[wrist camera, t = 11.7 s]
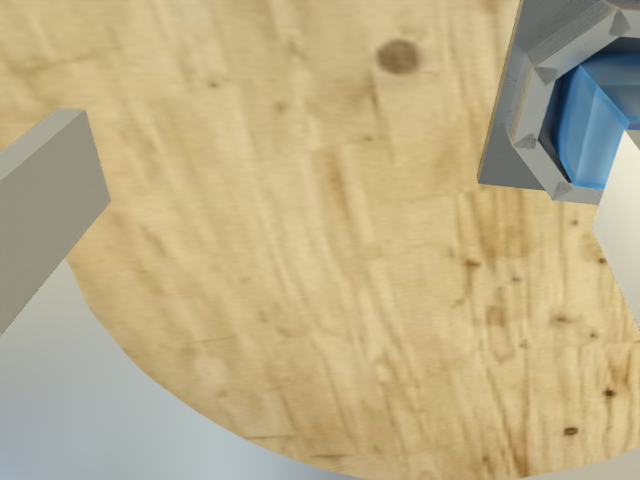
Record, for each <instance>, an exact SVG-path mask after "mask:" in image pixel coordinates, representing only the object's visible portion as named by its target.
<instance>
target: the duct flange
mask: <svg viewBox="0 0 640 480" xmlns="http://www.w3.org/2000/svg"><path fill="white" fill-rule="evenodd" d="M620 51H640V0H520V3H519V7H518V11H517V15H516V19H515V23H514V27H513V32H512V36H511V40H510V44H509V48H508V52H507V56H506V60H505V64H504V68H503V72H502V76H501V80H500V84H499V88H498V92H497V96H496V100H495V104H494V109H493V113H492V117H491V121H490V125H489V129H488V133H487V137H486V141H485V145H484V149H483V153H482V157H481V161H480V165H479V169H478V173H477V181H478V183H480V184H489V185H498V186H507V187H517V188H526V189H535V190H544V191H546V192H547V193H548V194H549V196H550V197H551V199H552V200H553V201H554V200H558V201H567V202H576V203H585V204H594V205H599V204H600V201H601V198H602V195H603V192H604V190H601V189H592V188H584V187H575V186H574V185H573V183H572V181H571V179H570V177H569V175H568V174H567V172H566V170H565V168H564V166H563V164H562V162H561V160H560V158H559V157H558V155H557V153H556V151H555V149H554V147H553V145H552V139H553V134H554V129H555V123H556V118H557V113H558V108H559V102H560V97H561V92H562V87H563V81H564V76H565V73H566V72H568V71H569V70H571V69H572V68H574V67H575V66H577V65H578V64H580V63H581V62H583V61H584V60H585V59H587V58H588V57H590V56H591V55H593V54H594V53H596V52H620Z"/></svg>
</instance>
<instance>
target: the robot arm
mask: <svg viewBox="0 0 640 480" xmlns="http://www.w3.org/2000/svg"><path fill="white" fill-rule="evenodd" d="M110 201H111V200H110V196H109V192H108V189H107V185H106V182H105V178H104V175H103V171H102V167H101V164H100V160H99V157H98V153H97V150H96V146H95V142H94V139H93V135H92V132H91V128H90V125H89V121H88V117H87V114H86V110H85V109H63V108H57V109H56V110H54V111H53V112H52V113H51V114H49V115H48V116H47V117H45V118H44V119H43V120H41V121H40V122H39V123H38V124H36V125H35V126H34V127H32V128H31V129H30V130H29V131H27V132H26V133H25V134H23V135H22V136H21V137H19V138H18V139H17V140H16V141H14V142H13V143H12V144H10V145H9V146H8V147H7V148H5V149H4V150H3V151H1V152H0V336H1V335H2V334H3V332H4V331H5V330H6V329H7V327H8V326H9V325H10V324H11V323H12V321H13V320H14V319H15V317H16V316H17V315H18V314H19V313H20V312H21V310H22V309H23V308H24V307H25V305H26V304H27V303H28V302H29V300H30V299H31V298H32V297H33V295H34V294H35V293H36V292H37V291H38V289H39V288H40V287H41V286H42V285H43V283H44V282H45V281H46V280H47V278H48V277H49V276H50V275H51V274H52V272H53V271H54V270H55V269H56V267H57V266H58V265H59V264H60V263H61V261H62V260H63V259H64V258H65V256H66V255H67V254H68V253H69V251H70V250H71V249H72V248H73V247H74V245H75V244H76V243H77V242H78V240H79V239H80V238H81V237H82V236H83V234H84V233H85V232H86V231H87V229H88V228H89V227H90V226H91V225H92V223H93V222H94V221H95V220H96V218H97V217H98V216H99V215H100V213H101V212H102V211H103V210H104V209H105V207H106V206H107V205H108V204H109V202H110ZM592 230H593V233H594V235H595V237H596V239H597V241H598V243H599V245H600V247H601V250H602V252H603V254H604V256H605V258H606V260H607V262H608V264H609V267H610V269H611V271H612V273H613V275H614V277H615V279H616V281H617V284H618V286H619V288H620V290H621V292H622V294H623V296H624V298H625V300H626V303H627V305H628V307H629V309H630V311H631V313H632V315H633V317H634V320H635V322H636V324H637V326H638V328H639V330H640V130H624V132H623V135H622V138H621V141H620V144H619V147H618V150H617V153H616V156H615V159H614V162H613V165H612V168H611V171H610V174H609V177H608V180H607V183H606V186H605V189H604V192H603V195H602V198H601V201H600V204H599V207H598V210H597V213H596V216H595V219H594V222H593V225H592Z"/></svg>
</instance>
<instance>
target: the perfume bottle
mask: <svg viewBox="0 0 640 480" xmlns="http://www.w3.org/2000/svg"><path fill="white" fill-rule="evenodd" d="M624 130H640V51H620V52H596V53H594V54H593V55H591V56H590V57H588V58H587V59H585V60H584V61H583V62H581V63H580V64H578V65H577V66H575V67H574V68H572V69H571V70H569V71H568V72H566V73H565V76H564V81H563V87H562V92H561V97H560V102H559V108H558V113H557V118H556V123H555V129H554V134H553V139H552V145H553V147H554V149H555V151H556V153H557V155H558V157H559V158H560V160H561V162H562V164H563V166H564V168H565V170H566V172H567V174H568V175H569V177H570V179H571V181H572V183H573V185H574V186H575V187H584V188H592V189H601V190H604V189H605V186H606V183H607V180H608V177H609V174H610V171H611V168H612V165H613V162H614V159H615V156H616V153H617V150H618V147H619V144H620V141H621V138H622V135H623V132H624Z"/></svg>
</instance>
